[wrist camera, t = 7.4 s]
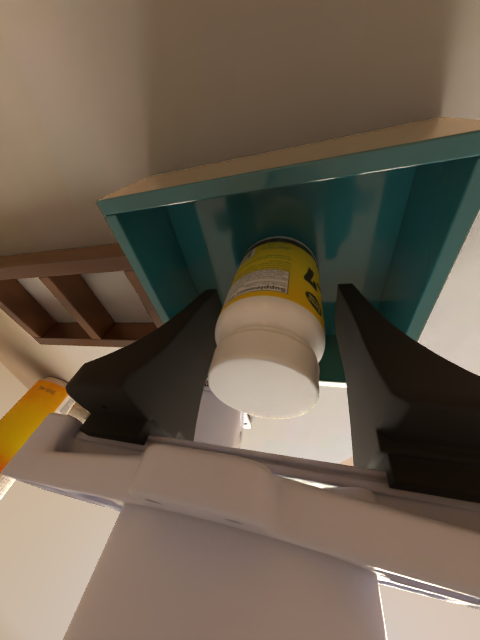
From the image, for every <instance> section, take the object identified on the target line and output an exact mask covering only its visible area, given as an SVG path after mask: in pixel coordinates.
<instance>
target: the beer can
mask: <svg viewBox="0 0 480 640" xmlns="http://www.w3.org/2000/svg"><path fill="white" fill-rule="evenodd" d="M67 384H68V383H66V382H64V381H62V380H59V379H56V378H52V377H47V378H46V379H42V380H39V381H37V382H36V384H35V385H34V386H33V387H32V388H31V389H30V390H29V391H28V392H27V393H26V394H25V395H24V396H23V397H22V398H21V399H20V400H19V401H18V402H17V403H16V404H15V405H14V406H13V407H12V408H11V409H10V411H9V412H8V413H7V414H6V415H5V416H4V417H3V418H2V419H1V420H0V500H1V498H2V497H3V496H4V494H5V493H6V492H7V490H8V489H9V488H10V487H11V485H12V484H13V483H14V481H15V479H13V478H10V477H7V476H4V475H1V471H2V470H3V469H4V468H5V466H6V465H7V464H8V463H9V462H10V460H11V459H12V458H13V457H14V456H15V454H16V453H17V452H18V451H19V449H20V448H21V447H22V446H23V445H24V443H25V442H26V441H27V440H28V439H29V437H30V436H31V435H32V434H33V433H34V431H35V430H36V429H37V428H38V426H39V425H40V424H41V423H42V422H43V420H44V419H45V418H46V417H47V416H48V414H49V413H58V414H64V415H66V414H67V413H68V411H69V410H70V409H71V407H72V406H73V405H74V403H75V402H76V401H74V400H73V399H72V398H71V397H70V396H69V395H68V394H67V392H66V388H65V386H66V385H67Z"/></svg>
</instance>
